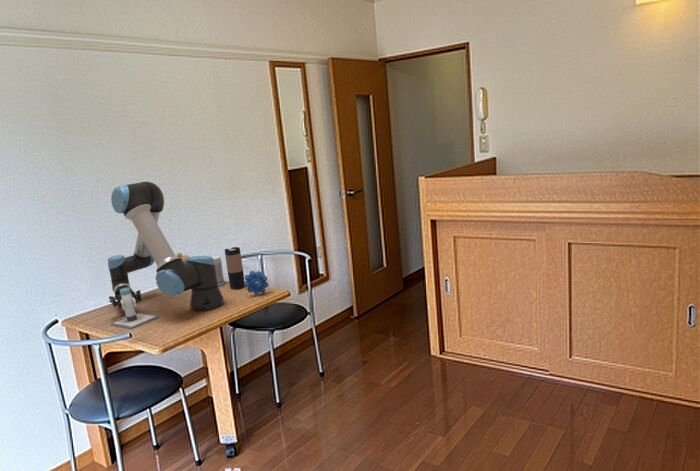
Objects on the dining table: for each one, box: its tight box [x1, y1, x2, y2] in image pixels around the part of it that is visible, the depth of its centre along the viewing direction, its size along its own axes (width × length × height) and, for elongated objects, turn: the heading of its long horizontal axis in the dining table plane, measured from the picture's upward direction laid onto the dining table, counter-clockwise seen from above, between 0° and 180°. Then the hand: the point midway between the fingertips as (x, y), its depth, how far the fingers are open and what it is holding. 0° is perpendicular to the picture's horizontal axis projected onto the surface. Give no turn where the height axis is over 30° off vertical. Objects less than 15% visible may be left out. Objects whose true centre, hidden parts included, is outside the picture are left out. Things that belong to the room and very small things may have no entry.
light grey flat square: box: [110, 312, 160, 330], centre depth 228 cm, size 14×14×1 cm
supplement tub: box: [210, 255, 225, 287], centre depth 272 cm, size 10×10×15 cm
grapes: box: [244, 270, 269, 296], centre depth 247 cm, size 12×7×12 cm, turn 116°
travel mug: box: [224, 246, 246, 291], centre depth 263 cm, size 8×8×20 cm
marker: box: [120, 286, 137, 321], centre depth 226 cm, size 4×4×14 cm
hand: (129, 305), depth 222 cm, fingers closed on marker, 4 cm apart
